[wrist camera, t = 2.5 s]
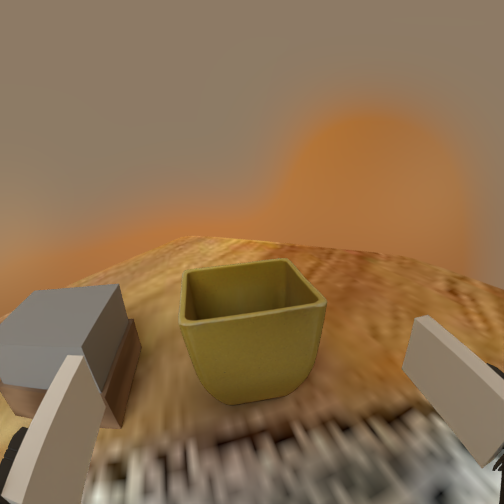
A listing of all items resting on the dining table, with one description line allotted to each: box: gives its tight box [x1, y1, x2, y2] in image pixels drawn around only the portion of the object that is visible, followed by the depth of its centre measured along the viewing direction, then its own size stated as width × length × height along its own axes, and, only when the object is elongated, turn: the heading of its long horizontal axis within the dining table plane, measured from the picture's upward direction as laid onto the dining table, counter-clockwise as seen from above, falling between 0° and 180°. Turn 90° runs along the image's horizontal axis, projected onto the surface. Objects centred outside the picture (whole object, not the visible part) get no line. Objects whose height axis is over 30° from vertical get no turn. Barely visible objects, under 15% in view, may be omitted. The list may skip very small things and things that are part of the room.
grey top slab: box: [0, 284, 129, 393], centre depth 20 cm, size 10×10×4 cm
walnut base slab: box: [0, 319, 142, 429], centre depth 22 cm, size 11×11×4 cm
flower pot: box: [178, 258, 327, 405], centre depth 22 cm, size 9×9×9 cm
